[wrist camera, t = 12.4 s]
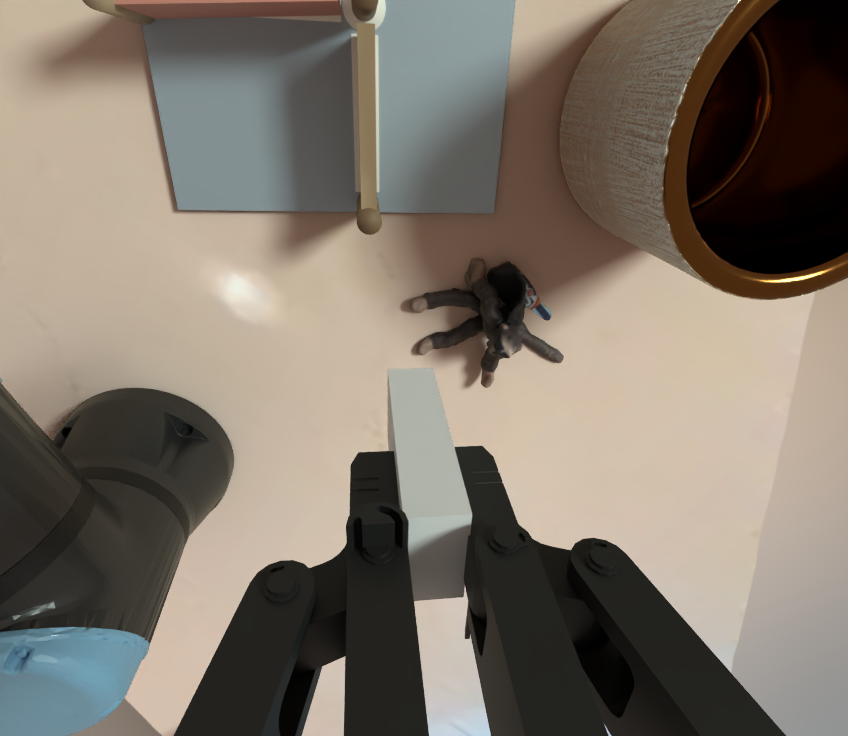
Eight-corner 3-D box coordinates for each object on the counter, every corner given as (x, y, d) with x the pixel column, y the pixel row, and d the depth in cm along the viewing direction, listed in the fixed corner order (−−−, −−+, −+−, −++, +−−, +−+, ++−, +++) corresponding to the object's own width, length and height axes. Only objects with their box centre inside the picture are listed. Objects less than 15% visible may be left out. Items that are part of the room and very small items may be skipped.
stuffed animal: (409, 261, 41) (555, 287, 36) (459, 237, 48) (584, 256, 44) (407, 386, 46) (533, 423, 41) (451, 347, 54) (562, 374, 49)
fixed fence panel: (357, 210, 39) (357, 234, 33) (351, -8, 32) (349, -33, 26) (377, 210, 39) (381, 234, 33) (376, -7, 33) (380, -31, 26)
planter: (516, 196, 40) (597, 252, 26) (628, -73, 33) (821, -189, 19) (693, 261, 45) (840, 337, 31) (826, 38, 37) (1098, 9, 23)
